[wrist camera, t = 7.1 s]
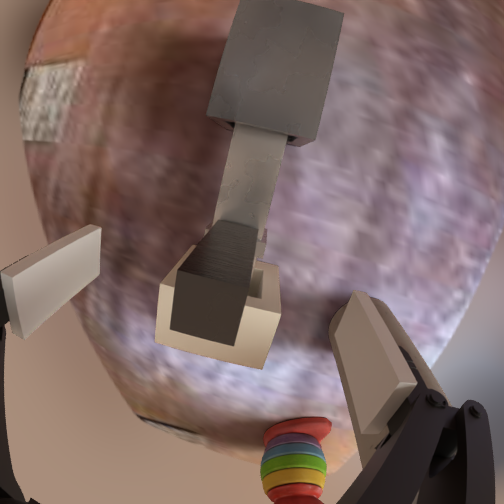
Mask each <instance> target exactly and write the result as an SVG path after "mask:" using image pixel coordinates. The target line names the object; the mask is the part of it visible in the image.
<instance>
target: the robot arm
mask: <svg viewBox="0 0 504 504" xmlns="http://www.w3.org/2000/svg"><path fill="white" fill-rule="evenodd" d="M100 246H101V227H99V226H95V225H91V224H89V225H87V226H85V227H83V228H81V229H79V230H77V231H75V232H73V233H71V234H69V235H67V236H65V237H63V238H61V239H59V240H57V241H55V242H53V243H51V244H49V245H47V246H45V247H44V248H42V249H40V250H38V251H36V252H34V253H32V254H30V255H28V256H25V257H24V258H22V259H20V260H19V261H17V262H15V263H13V265H12V264H11V265H10V266H8V267H6V268H4V269H3V270H1V271H0V504H40V503H38V502H37V501H35V500H34V499H32V498H30V501H29V502H26V501H25V498H24V496H23V493H22V491H21V489H20V487H19V485H18V483H17V481H16V479H15V477H14V473H13V470H12V464H11V458H10V452H9V446H8V439H7V430H6V419H5V405H4V353H5V339H6V329H5V324H6V323H7V322H8V321H10V325H11V329H12V333H14V334H16V335H17V336H19V337H20V338H22V339H24V340H25V339H26V338H27V337H28V336H29V335H30V334H31V333H32V332H33V331H35V330H36V329H37V328H38V327H39V326H40V325H41V324H42V323H43V322H44V321H46V320H47V319H48V318H49V317H50V316H51V315H52V314H53V313H55V312H56V311H57V310H58V309H59V308H60V307H61V306H62V305H64V304H65V303H66V302H67V301H69V300H70V299H71V298H72V297H73V296H74V295H76V294H77V293H78V292H79V291H80V290H82V289H83V288H84V287H85V286H86V285H88V284H89V283H90V282H91V281H93V280H94V279H95V278H96V277H98V276H99V275H100ZM335 338H336V342H337V345H338V348H339V352H340V355H341V359H342V362H343V366H344V370H345V373H346V377H347V380H348V384H349V388H350V391H351V395H352V399H353V403H354V407H355V411H356V415H357V419H358V423H359V427H360V431H361V434H379V433H380V432H381V430H382V429H383V428H384V427H385V426H386V424H387V426H388V429H389V433H388V434H387V435H386V436H385V437H384V438H383V439H382V441H381V442H380V443H379V444H378V445H377V446H376V447H375V449H376V451H375V453H374V454H373V456H372V457H371V459H370V460H369V462H368V463H367V464H366V466H365V467H364V469H363V470H362V472H361V473H360V474H359V476H358V477H357V478H356V480H355V481H354V482H353V483H352V485H351V486H350V487H349V489H348V490H347V491H346V492H345V494H344V495H343V496H342V497H341V499H340V500H339V501H338V502H337V503H336V504H412V503H413V501H414V499H415V497H416V495H417V493H418V491H419V494H418V499H417V504H495V476H494V475H495V473H494V460H493V450H492V441H491V434H490V427H489V421H488V416H487V413H486V410H485V409H484V407H483V406H482V405H481V404H480V403H479V402H476V401H473V400H467V401H466V402H465V403H464V404H463V405H462V407H461V408H460V409H459V408H455V407H451V406H448V402H447V399H446V398H445V397H444V396H443V395H442V394H441V393H440V392H438V391H436V390H434V389H428V388H427V386H426V384H425V382H424V380H423V378H422V377H421V375H420V373H419V371H418V369H416V366H415V364H414V363H413V360H412V359H411V357H410V355H409V353H408V352H407V351H406V350H404V349H403V348H402V347H401V346H398V345H397V344H396V342H395V340H394V338H393V336H392V335H391V333H390V331H389V329H388V328H387V326H386V324H385V323H384V321H383V319H382V317H381V316H380V314H379V312H378V311H377V309H376V307H375V306H374V304H373V302H372V301H371V299H370V297H369V296H368V294H367V293H365V292H361V291H356V290H353V293H352V295H351V298H350V300H349V302H348V305H347V307H346V310H345V312H344V314H343V317H342V319H341V321H340V324H339V326H338V328H337V330H336V333H335ZM456 452H457V453H456ZM455 453H456V455H455Z"/></svg>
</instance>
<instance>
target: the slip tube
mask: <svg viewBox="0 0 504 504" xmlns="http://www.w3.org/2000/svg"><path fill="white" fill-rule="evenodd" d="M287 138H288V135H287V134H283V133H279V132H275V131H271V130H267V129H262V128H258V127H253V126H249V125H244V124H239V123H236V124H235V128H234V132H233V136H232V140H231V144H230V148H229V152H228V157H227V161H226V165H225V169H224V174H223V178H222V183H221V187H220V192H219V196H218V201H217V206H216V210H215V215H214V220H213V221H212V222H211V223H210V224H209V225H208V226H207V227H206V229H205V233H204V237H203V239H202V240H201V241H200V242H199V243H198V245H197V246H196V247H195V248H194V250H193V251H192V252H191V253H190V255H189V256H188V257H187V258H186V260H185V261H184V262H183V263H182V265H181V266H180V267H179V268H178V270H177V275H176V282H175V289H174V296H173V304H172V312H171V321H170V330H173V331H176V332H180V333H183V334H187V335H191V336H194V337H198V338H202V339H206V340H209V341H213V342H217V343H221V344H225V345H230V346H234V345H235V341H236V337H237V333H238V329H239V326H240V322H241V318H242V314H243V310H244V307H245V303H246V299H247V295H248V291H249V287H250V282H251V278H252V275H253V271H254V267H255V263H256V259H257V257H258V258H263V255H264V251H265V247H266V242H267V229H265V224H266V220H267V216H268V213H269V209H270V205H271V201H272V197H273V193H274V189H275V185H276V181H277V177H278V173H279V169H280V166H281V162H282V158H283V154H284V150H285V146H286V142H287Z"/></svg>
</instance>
